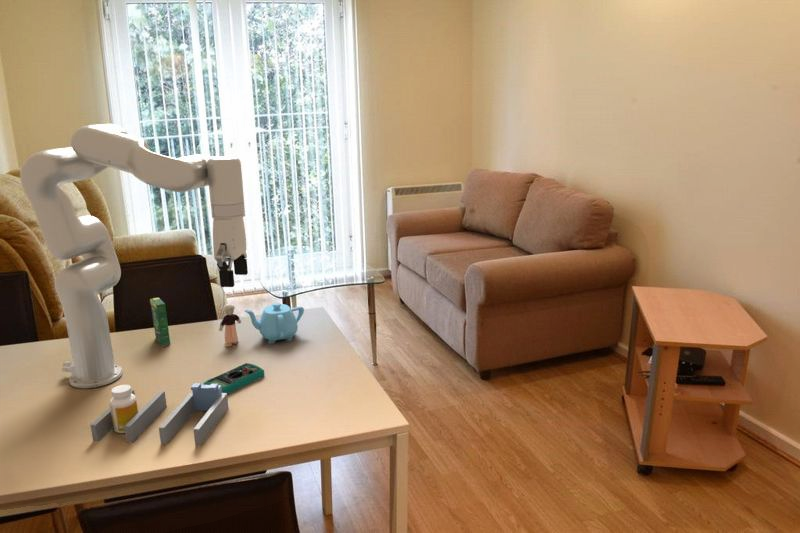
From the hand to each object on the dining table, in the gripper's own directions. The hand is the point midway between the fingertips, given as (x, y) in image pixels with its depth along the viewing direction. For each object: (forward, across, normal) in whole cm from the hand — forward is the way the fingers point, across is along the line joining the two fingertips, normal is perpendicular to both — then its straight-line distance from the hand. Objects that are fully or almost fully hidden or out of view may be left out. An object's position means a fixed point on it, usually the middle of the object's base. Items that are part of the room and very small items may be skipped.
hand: (234, 280), depth 145 cm
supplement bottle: (+29, +19, -21) cm, 41 cm away
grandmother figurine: (+29, -28, -13) cm, 43 cm away
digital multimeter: (+30, -3, -4) cm, 30 cm away
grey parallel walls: (+29, +18, -13) cm, 36 cm away
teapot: (+29, -33, -1) cm, 44 cm away
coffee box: (+29, -29, -35) cm, 54 cm away
